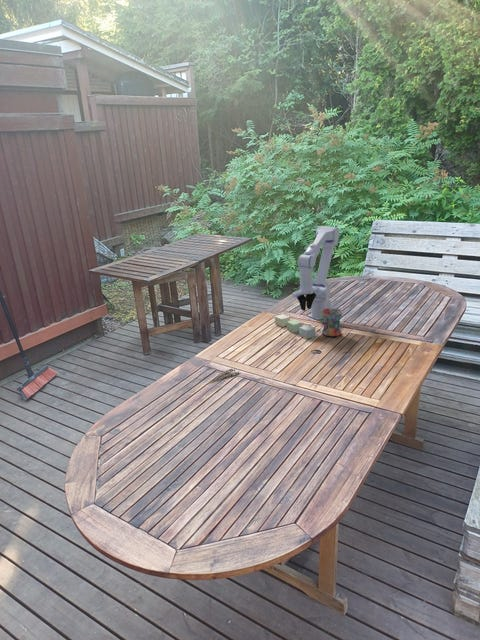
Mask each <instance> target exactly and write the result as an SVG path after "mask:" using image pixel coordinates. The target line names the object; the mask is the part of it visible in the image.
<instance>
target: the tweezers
mask: <svg viewBox="0 0 480 640" xmlns="http://www.w3.org/2000/svg"><path fill="white" fill-rule="evenodd" d="M233 369H234V372H232V371H231V370H233ZM229 371H231V372H229ZM228 372H229V373H228ZM239 372H240V371H239V370H237V371H236V368H232V367H231V368H229V369H227V370H225V371H224V372H222V373H221V374H219V375H218V376H216V377H214V378H213V379H212V380H210V381H209V382H206V383H205V385H210V384H212V383H214V382H215V383H216V382H218V381H220V380H223V379H226V378H229V377H232V376H235V375H234V374H236V375H239V374H240V373H239ZM226 373H227V374H226ZM238 373H239V374H238ZM224 374H225V375H224ZM222 375H223V376H222ZM231 375H232V376H231ZM220 376H221V377H220ZM228 376H229V377H228ZM225 377H226V378H225ZM213 380H214V381H213ZM217 380H218V381H217Z"/></svg>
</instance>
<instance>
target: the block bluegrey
mask: <svg viewBox="0 0 480 640" xmlns="http://www.w3.org/2000/svg"><path fill="white" fill-rule="evenodd" d="M298 336H300V337H302V338H304V339H306V340H307V339H310V338H314V337H316V327H314V326H311V325H309V324H305V325H302V327H299V331H298Z"/></svg>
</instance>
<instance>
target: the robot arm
mask: <svg viewBox="0 0 480 640" xmlns="http://www.w3.org/2000/svg"><path fill="white" fill-rule="evenodd" d="M315 235H316V236H315V239H314V241H313V243H310V244H309V245H308V247H307V248H306V250H305V251H304V252H303V254H300V255H299V256H298V258H297V268H298V271H299V289H298V290H296V291H294V292H292V294H291V295H292V298H295V299H296V298H297V301H298V303H299V306H300V309H301V311H306V308H307V309H309V310H310V311H311V312H310V313H309V314H307V317H310V318H312V319H314V320H317V321H319V320H324V318H323V315H322V313H321V311H322V310H324V309H328V308H332V301H331V298H330V296H331V289H332V288H331V287H332V286H331V284H330V283H329V281H327V278H328V274H329V270H330V265H331V261H332V257H333V252H334V248H335V247H337V246H338V243H339V238H340V229H339V227H338V226H322V225H319V226H317V228H316V231H315ZM321 247H322V252H321ZM320 252H321V254H320ZM319 254H320V260H319V264H318V265H319V266H318V268H317V269H318V270H317V273H316V277H315V279H313V278H314V277H313V276H314V268H315V265H316V260H317V257H318V256H319Z"/></svg>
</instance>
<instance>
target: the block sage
mask: <svg viewBox="0 0 480 640" xmlns="http://www.w3.org/2000/svg"><path fill="white" fill-rule="evenodd" d="M302 326H303V321H300V320H298V319H295V318H293V319H292V320H291V319H290V321H287V325H286V330H287V331H289V332H292V333H297V332H299V327H302Z"/></svg>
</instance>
